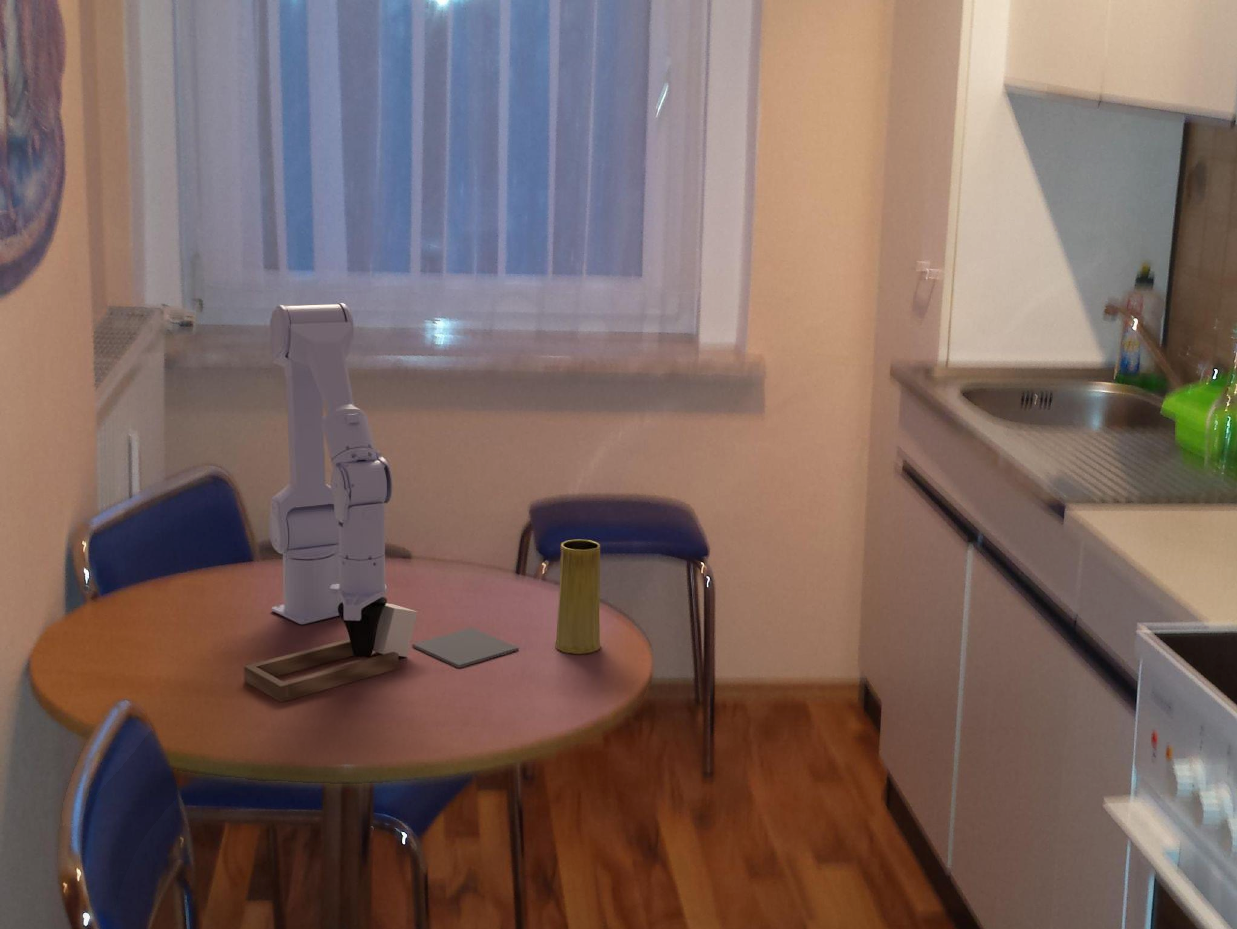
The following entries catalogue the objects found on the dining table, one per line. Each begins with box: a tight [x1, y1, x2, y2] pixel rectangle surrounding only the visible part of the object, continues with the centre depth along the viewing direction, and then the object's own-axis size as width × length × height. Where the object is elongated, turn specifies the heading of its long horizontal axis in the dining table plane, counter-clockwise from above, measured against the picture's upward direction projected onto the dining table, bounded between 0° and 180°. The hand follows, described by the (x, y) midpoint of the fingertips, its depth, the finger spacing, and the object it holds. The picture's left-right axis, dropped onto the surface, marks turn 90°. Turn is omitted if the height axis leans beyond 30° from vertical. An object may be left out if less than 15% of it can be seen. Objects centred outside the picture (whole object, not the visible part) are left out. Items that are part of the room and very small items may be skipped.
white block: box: [373, 603, 419, 657], centre depth 185 cm, size 4×4×6 cm
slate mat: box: [411, 627, 520, 669], centre depth 189 cm, size 10×10×1 cm
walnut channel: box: [243, 638, 399, 703], centre depth 178 cm, size 17×8×2 cm, turn 134°
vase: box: [554, 538, 602, 655], centre depth 189 cm, size 6×6×14 cm
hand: (363, 655), depth 182 cm, fingers closed
